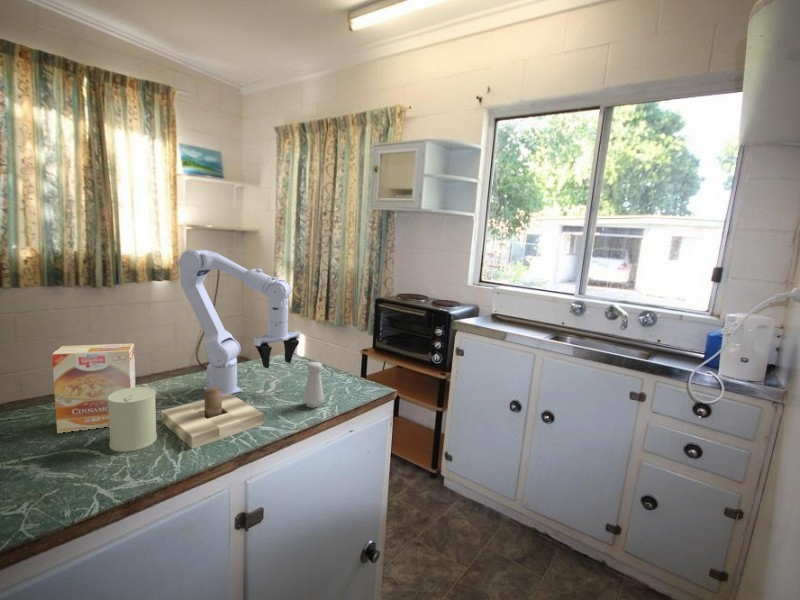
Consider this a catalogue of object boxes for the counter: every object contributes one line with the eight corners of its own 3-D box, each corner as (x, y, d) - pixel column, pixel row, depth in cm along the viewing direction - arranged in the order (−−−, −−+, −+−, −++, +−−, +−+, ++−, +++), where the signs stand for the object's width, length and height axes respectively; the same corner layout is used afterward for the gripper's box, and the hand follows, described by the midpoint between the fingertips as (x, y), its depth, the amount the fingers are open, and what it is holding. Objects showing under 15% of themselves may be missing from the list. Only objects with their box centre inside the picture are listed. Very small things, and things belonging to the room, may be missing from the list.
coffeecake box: (56, 434, 94) (50, 353, 91) (65, 420, 100) (60, 345, 97) (132, 425, 100) (129, 349, 97) (137, 413, 107) (134, 342, 104)
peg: (201, 422, 104) (201, 389, 102) (217, 418, 107) (217, 386, 105) (208, 428, 101) (208, 394, 100) (224, 423, 104) (224, 390, 103)
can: (105, 455, 87) (103, 402, 85) (112, 435, 95) (110, 387, 93) (155, 447, 91) (154, 397, 89) (158, 429, 99) (157, 382, 97)
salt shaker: (318, 410, 116) (320, 367, 114) (300, 407, 117) (301, 364, 115) (326, 402, 121) (328, 361, 119) (308, 400, 122) (309, 359, 120)
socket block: (161, 421, 103) (161, 410, 102) (229, 402, 117) (229, 392, 116) (192, 448, 92) (192, 436, 91) (263, 424, 105) (263, 413, 105)
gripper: (263, 326, 112) (262, 373, 114) (306, 320, 123) (304, 363, 126) (250, 322, 117) (249, 366, 119) (292, 316, 128) (291, 357, 130)
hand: (277, 364), depth 123 cm, fingers open, 7 cm apart
